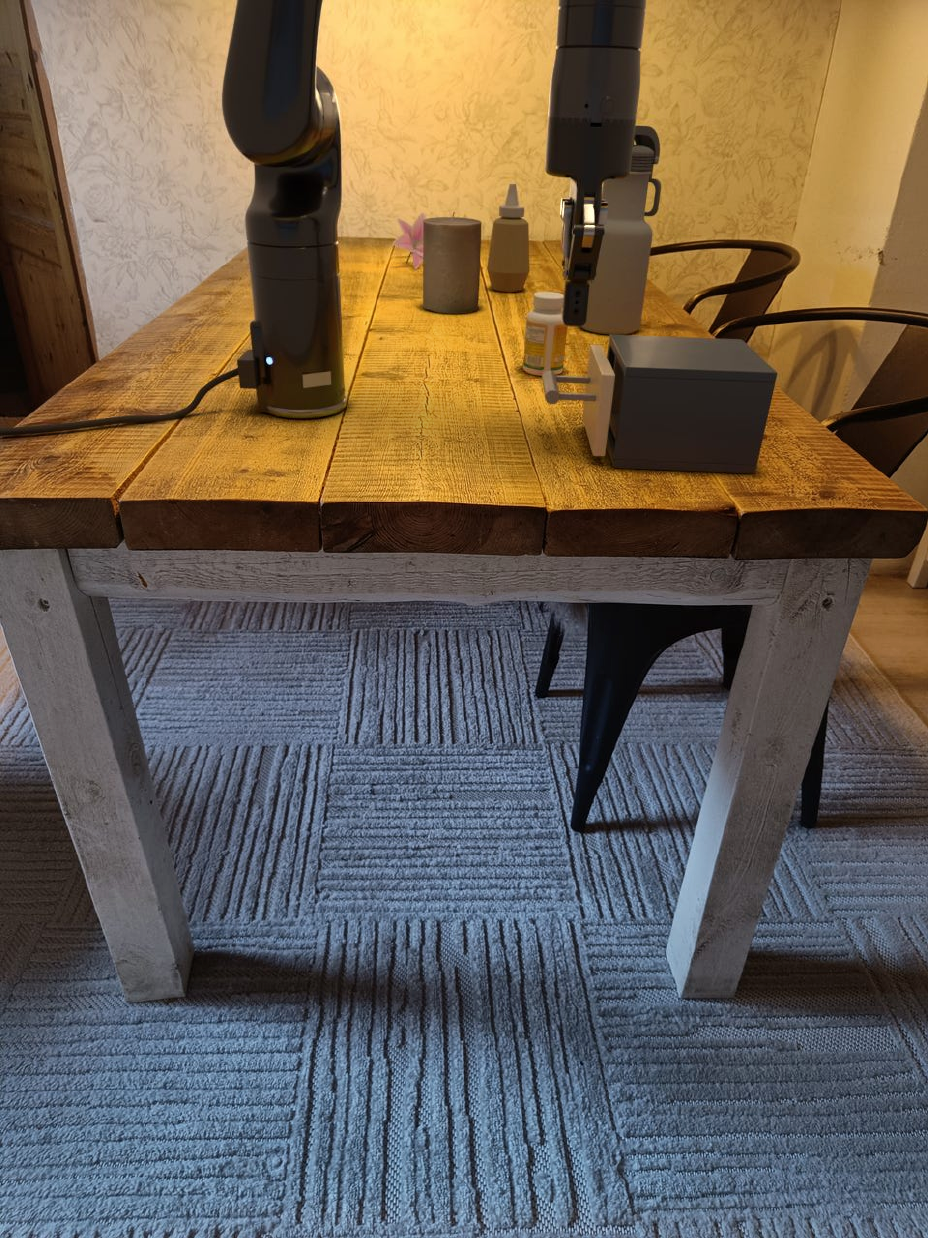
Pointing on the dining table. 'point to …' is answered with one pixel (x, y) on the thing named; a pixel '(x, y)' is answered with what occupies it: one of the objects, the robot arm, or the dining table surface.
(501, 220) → the squeeze bottle
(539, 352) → the supplement bottle
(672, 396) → the cabinet
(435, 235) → the pillar candle
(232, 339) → the dining table surface
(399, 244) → the lily
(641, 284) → the water bottle
